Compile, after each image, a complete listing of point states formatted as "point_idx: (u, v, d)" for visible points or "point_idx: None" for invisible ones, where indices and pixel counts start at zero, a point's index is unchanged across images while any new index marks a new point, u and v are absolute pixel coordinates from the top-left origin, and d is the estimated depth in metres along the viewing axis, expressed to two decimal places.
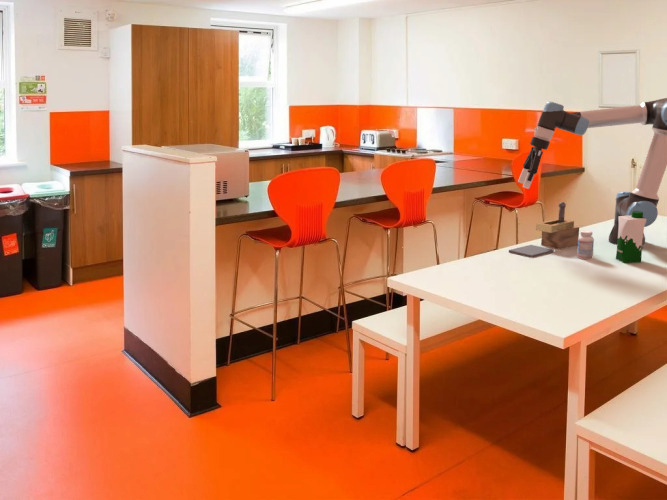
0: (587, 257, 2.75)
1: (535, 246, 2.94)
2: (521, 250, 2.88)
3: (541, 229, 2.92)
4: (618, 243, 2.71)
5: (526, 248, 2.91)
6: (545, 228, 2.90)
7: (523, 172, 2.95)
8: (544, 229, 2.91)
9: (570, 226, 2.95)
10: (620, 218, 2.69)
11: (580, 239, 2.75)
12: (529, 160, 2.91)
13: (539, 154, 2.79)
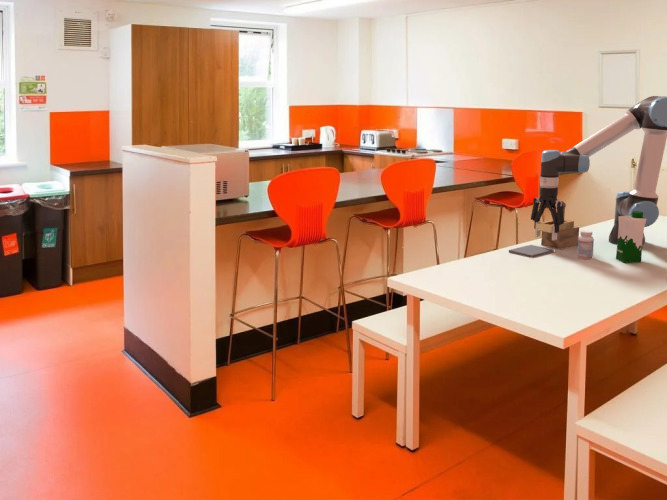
0: (587, 257, 2.75)
1: (535, 246, 2.94)
2: (521, 250, 2.88)
3: (541, 229, 2.92)
4: (618, 243, 2.71)
5: (526, 248, 2.91)
6: (545, 228, 2.90)
7: None
8: (544, 229, 2.91)
9: (570, 226, 2.95)
10: (620, 218, 2.69)
11: (580, 239, 2.75)
12: (541, 211, 2.92)
13: (561, 205, 2.84)
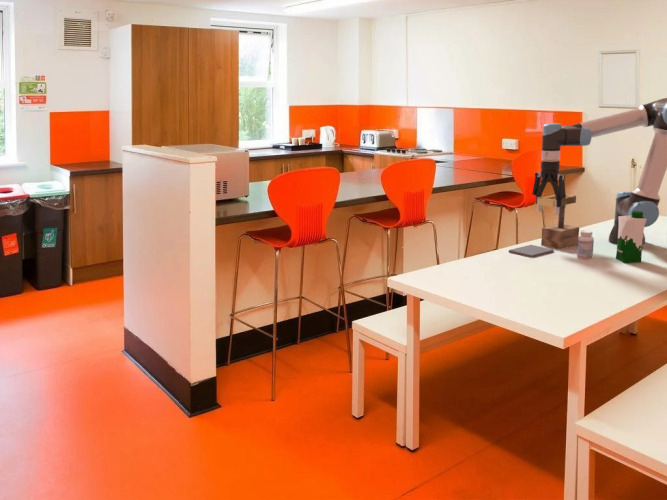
0: (587, 257, 2.75)
1: (535, 246, 2.94)
2: (521, 250, 2.88)
3: (543, 204, 2.89)
4: (618, 243, 2.71)
5: (526, 248, 2.91)
6: (547, 202, 2.87)
7: None
8: (546, 204, 2.88)
9: (572, 201, 2.93)
10: (620, 218, 2.69)
11: (580, 239, 2.75)
12: (543, 185, 2.89)
13: (563, 179, 2.82)
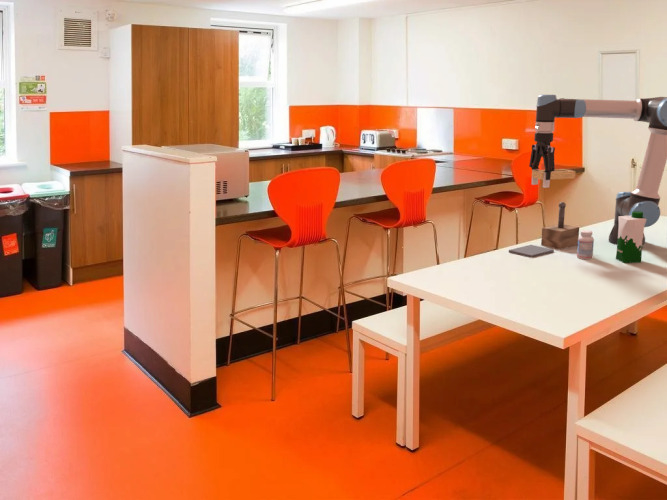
0: (587, 257, 2.75)
1: (535, 246, 2.94)
2: (521, 250, 2.88)
3: (535, 176, 2.86)
4: (618, 243, 2.71)
5: (526, 248, 2.91)
6: (538, 175, 2.84)
7: None
8: (537, 176, 2.85)
9: (569, 176, 2.85)
10: (620, 218, 2.69)
11: (580, 239, 2.75)
12: (537, 158, 2.86)
13: (552, 151, 2.77)
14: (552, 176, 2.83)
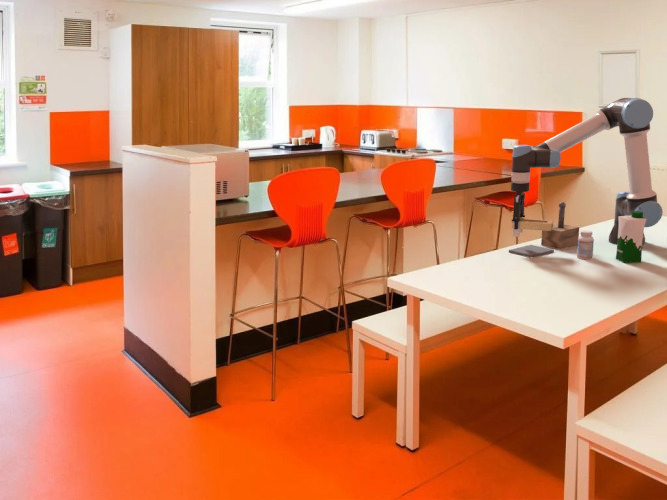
0: (587, 257, 2.75)
1: (535, 246, 2.94)
2: (521, 250, 2.88)
3: None
4: (618, 243, 2.71)
5: (526, 248, 2.91)
6: None
7: None
8: None
9: (544, 228, 2.80)
10: (620, 218, 2.69)
11: (580, 239, 2.75)
12: None
13: (517, 201, 2.80)
14: (523, 226, 2.83)
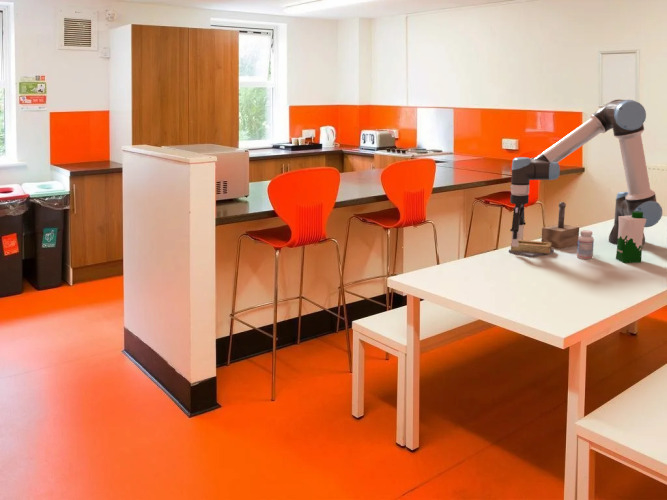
0: (587, 257, 2.75)
1: None
2: None
3: None
4: (618, 243, 2.71)
5: None
6: None
7: (518, 229, 2.95)
8: None
9: (542, 250, 2.83)
10: (620, 218, 2.69)
11: (580, 239, 2.75)
12: None
13: (516, 211, 2.80)
14: (522, 248, 2.86)
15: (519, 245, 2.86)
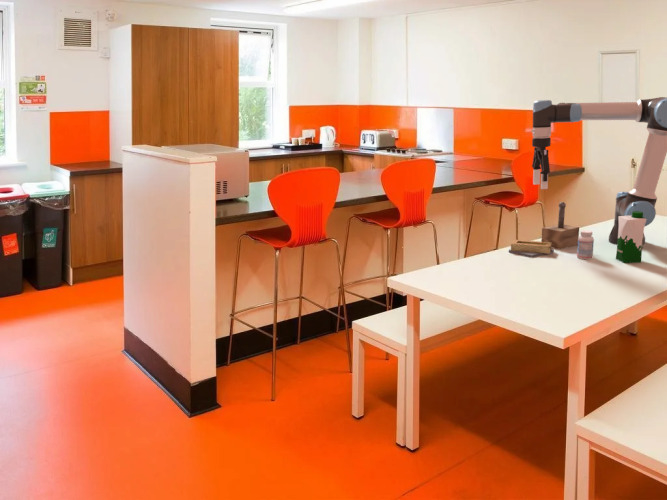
0: (587, 257, 2.75)
1: None
2: None
3: None
4: (618, 243, 2.71)
5: None
6: None
7: (535, 173, 2.96)
8: None
9: (542, 250, 2.83)
10: (620, 218, 2.69)
11: (580, 239, 2.75)
12: (537, 161, 2.92)
13: (545, 153, 2.81)
14: (522, 248, 2.86)
15: (519, 245, 2.86)
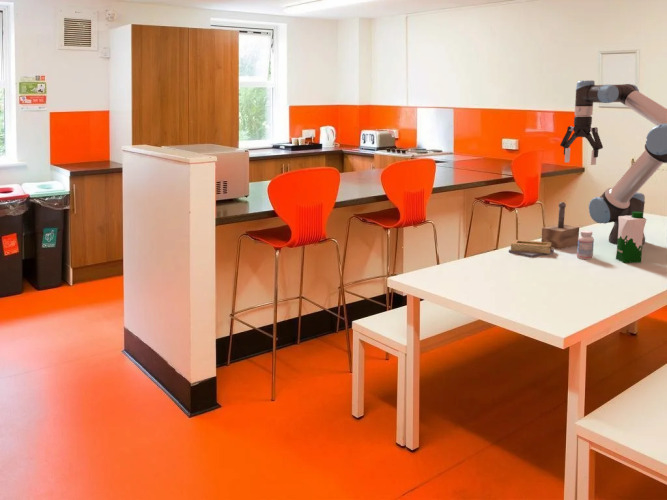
0: (587, 257, 2.75)
1: None
2: None
3: None
4: (618, 243, 2.71)
5: None
6: None
7: (567, 152, 3.08)
8: None
9: (542, 250, 2.83)
10: (620, 218, 2.69)
11: (580, 239, 2.75)
12: (572, 139, 3.05)
13: (596, 130, 2.96)
14: (522, 248, 2.86)
15: (519, 245, 2.86)
